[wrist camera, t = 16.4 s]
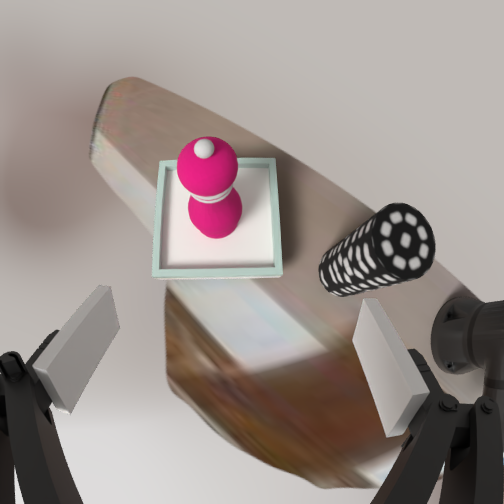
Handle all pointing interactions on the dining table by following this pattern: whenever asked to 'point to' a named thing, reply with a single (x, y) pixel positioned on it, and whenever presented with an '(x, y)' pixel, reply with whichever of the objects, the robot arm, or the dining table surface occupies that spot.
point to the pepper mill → (211, 185)
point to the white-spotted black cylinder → (380, 252)
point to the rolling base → (224, 249)
